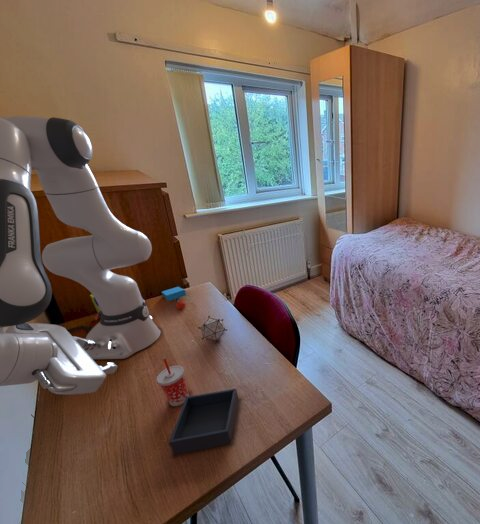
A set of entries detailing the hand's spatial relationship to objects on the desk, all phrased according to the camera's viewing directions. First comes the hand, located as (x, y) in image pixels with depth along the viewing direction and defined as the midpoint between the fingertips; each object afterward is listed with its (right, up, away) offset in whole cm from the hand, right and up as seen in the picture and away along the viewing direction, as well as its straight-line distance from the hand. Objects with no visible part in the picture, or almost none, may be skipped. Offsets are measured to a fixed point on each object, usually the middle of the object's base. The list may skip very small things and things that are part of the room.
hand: (103, 356), depth 65 cm
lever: (-19, +4, +59) cm, 62 cm away
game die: (+8, -6, +36) cm, 38 cm away
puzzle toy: (-38, 0, +51) cm, 64 cm away
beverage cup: (+9, -16, +13) cm, 23 cm away
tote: (+21, -19, +6) cm, 29 cm away
